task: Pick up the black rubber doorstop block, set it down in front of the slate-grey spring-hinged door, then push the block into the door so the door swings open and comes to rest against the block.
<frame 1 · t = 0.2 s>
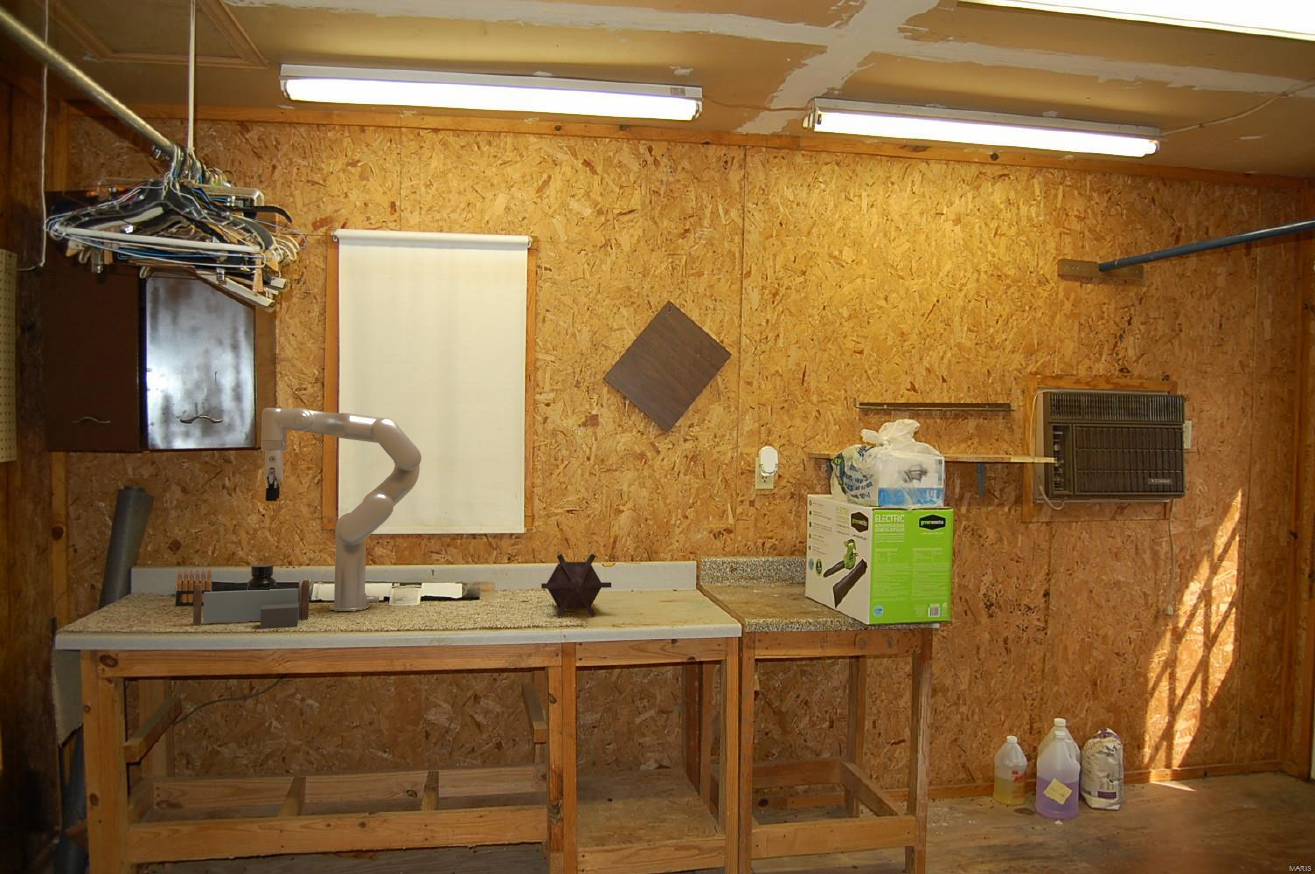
hand: (272, 499, 269), 36 cm above the table, tool pointing down, fingers open, 9 cm apart
ink bottle: (261, 600, 288), on the table
door frame: (252, 621, 256), on the table
ammunition clip: (193, 606, 277), on the table
doorstop block: (279, 626, 251), on the table
door: (251, 605, 255), point 5 cm above the table, hinge at 0.0°
black spiked polyhedron: (574, 613, 280), on the table
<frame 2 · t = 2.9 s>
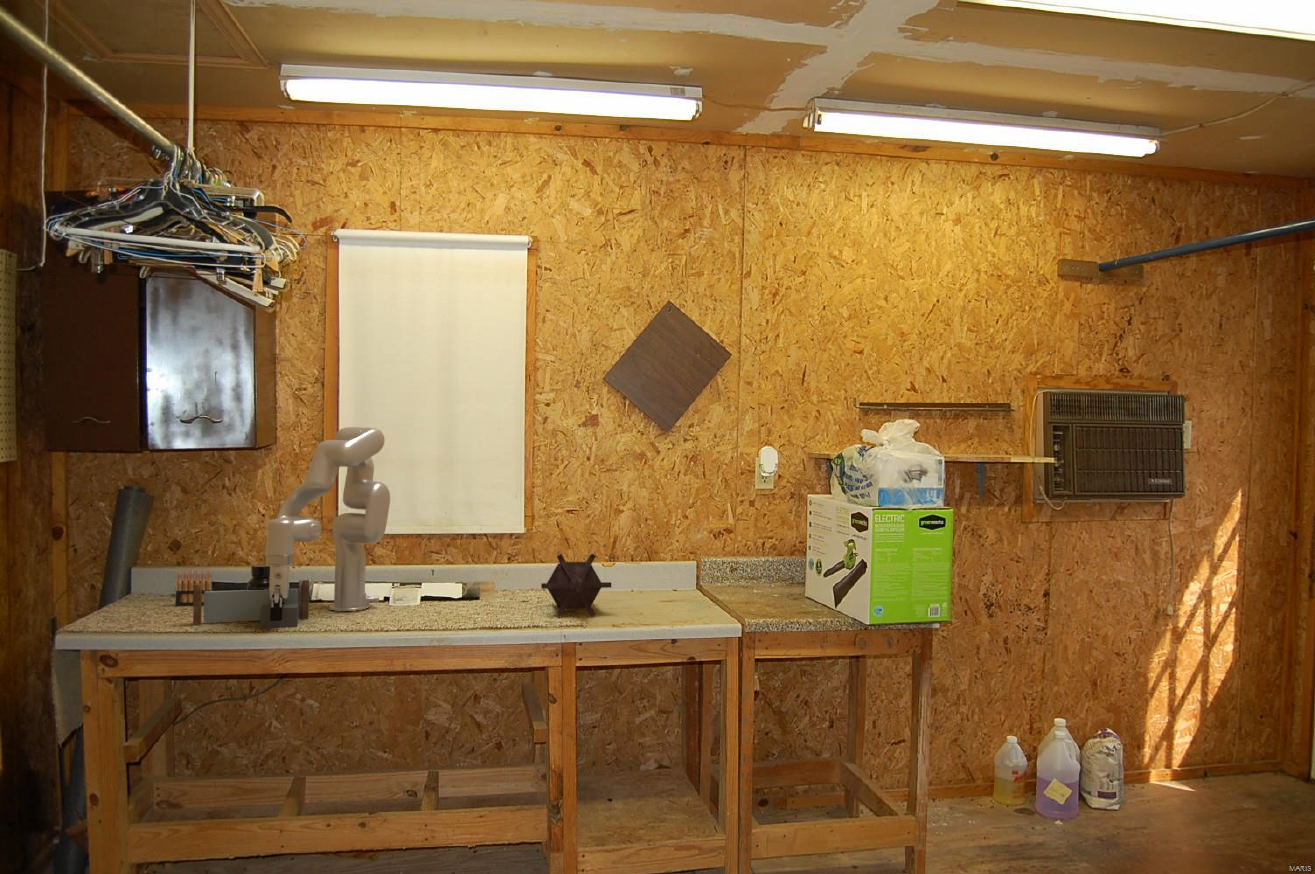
hand: (277, 617, 250), 3 cm above the table, tool pointing down, fingers open, 9 cm apart
door: (252, 604, 256), point 5 cm above the table, hinge at 2.6°
everything else where it was.
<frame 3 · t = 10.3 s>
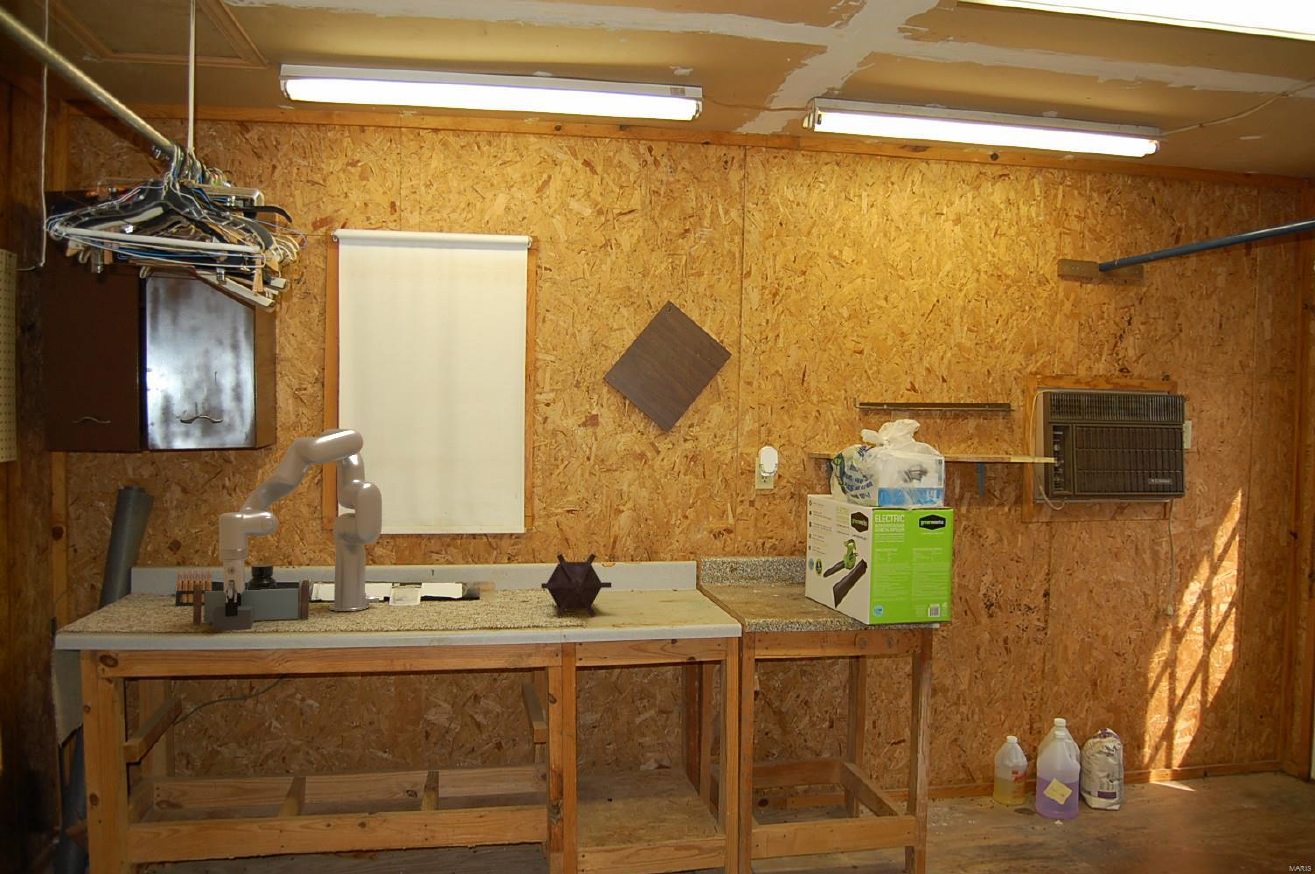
hand: (233, 612, 247), 5 cm above the table, tool pointing down, fingers open, 9 cm apart
doorstop block: (232, 628, 247), on the table
door: (252, 604, 256), point 5 cm above the table, hinge at 3.2°
everything else where it was.
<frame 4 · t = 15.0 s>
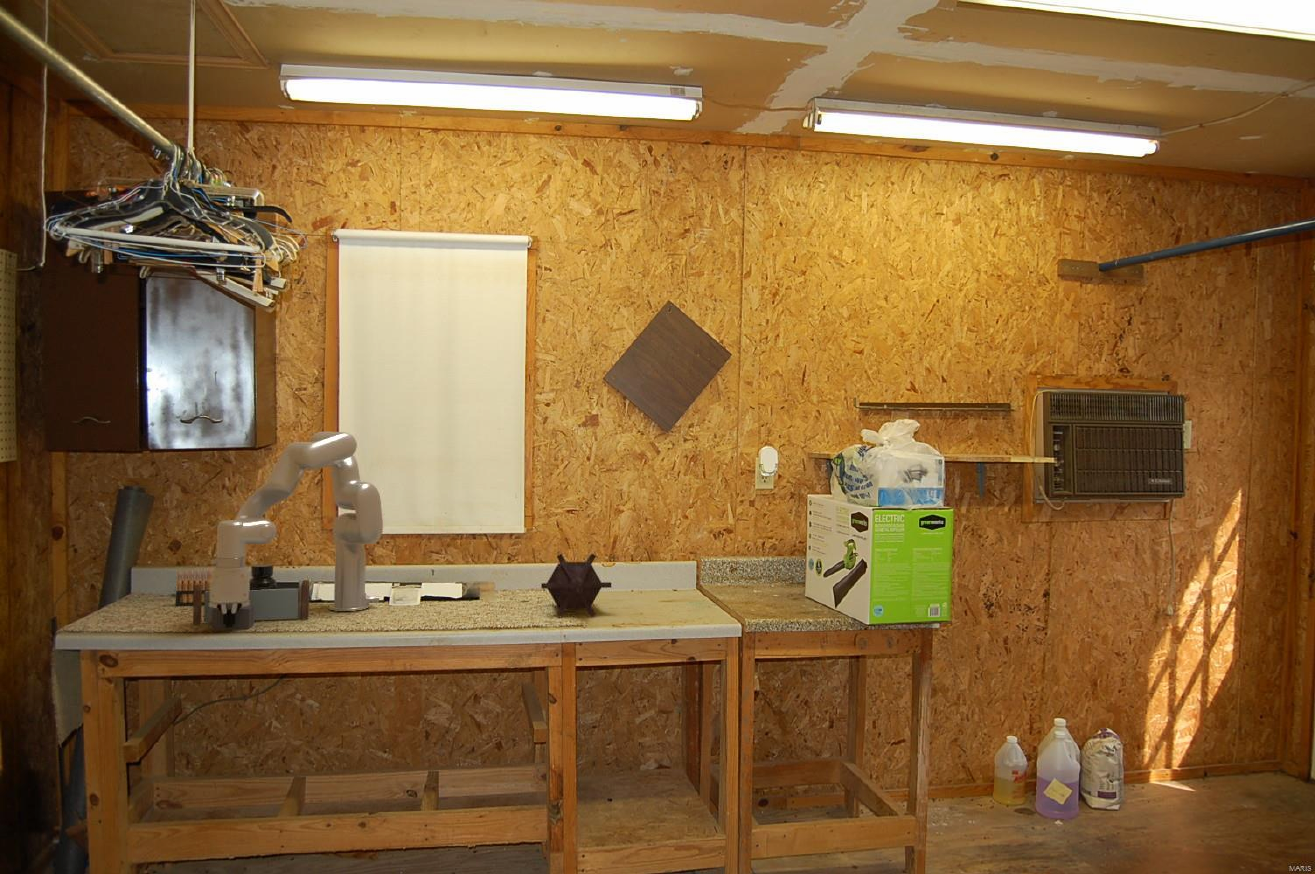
hand: (229, 626, 243), 1 cm above the table, tool pointing down, fingers closed
nothing on the table moved.
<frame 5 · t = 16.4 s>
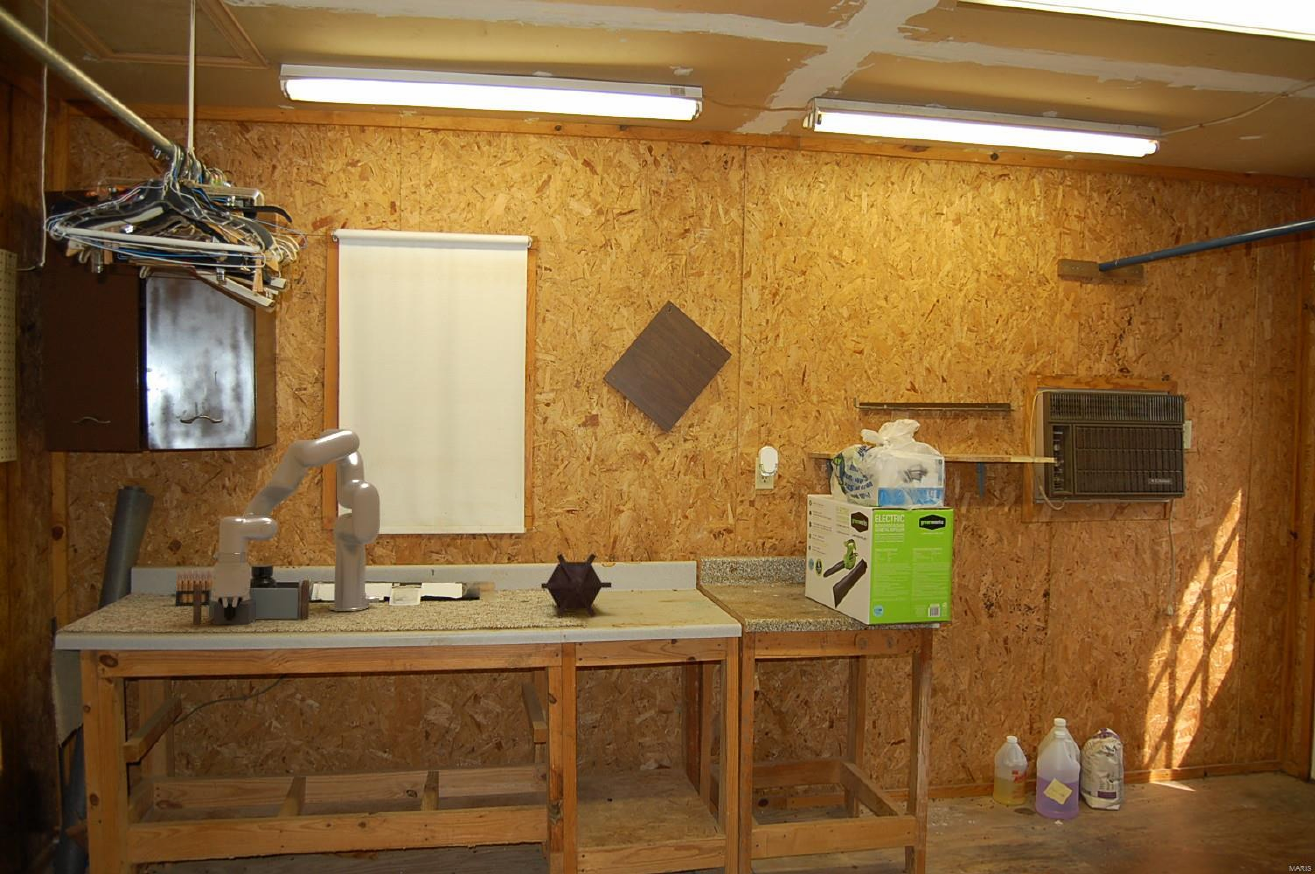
hand: (229, 619, 250), 2 cm above the table, tool pointing down, fingers closed
doorstop block: (234, 621, 254), on the table, touching door, gripper
door: (254, 603, 259), point 5 cm above the table, hinge at 14.2°, touching doorstop block
everything else where it was.
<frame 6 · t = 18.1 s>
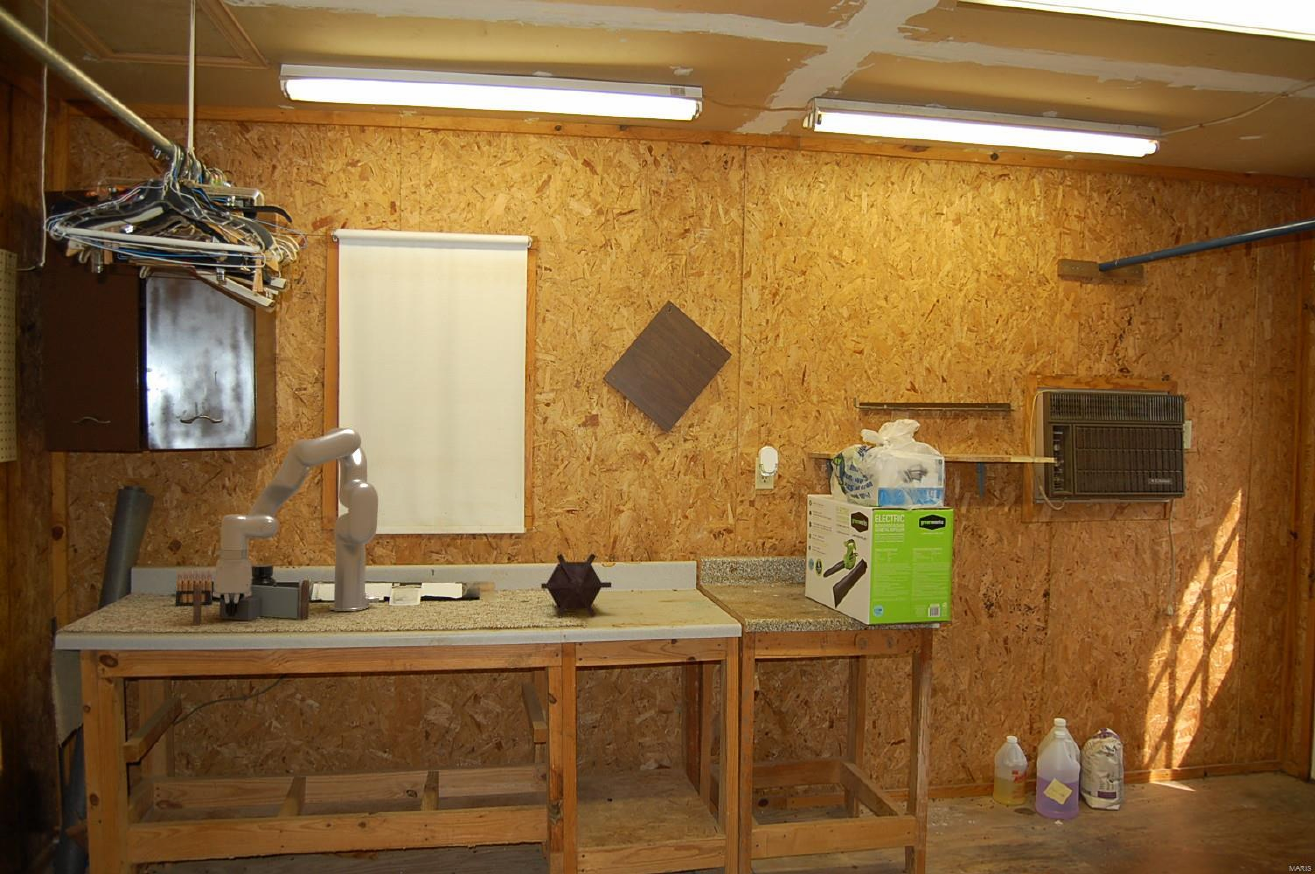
hand: (231, 615, 255), 2 cm above the table, tool pointing down, fingers closed
doorstop block: (240, 617, 260), on the table, touching door, gripper
door: (261, 600, 263), point 5 cm above the table, hinge at 32.0°, touching doorstop block
everything else where it was.
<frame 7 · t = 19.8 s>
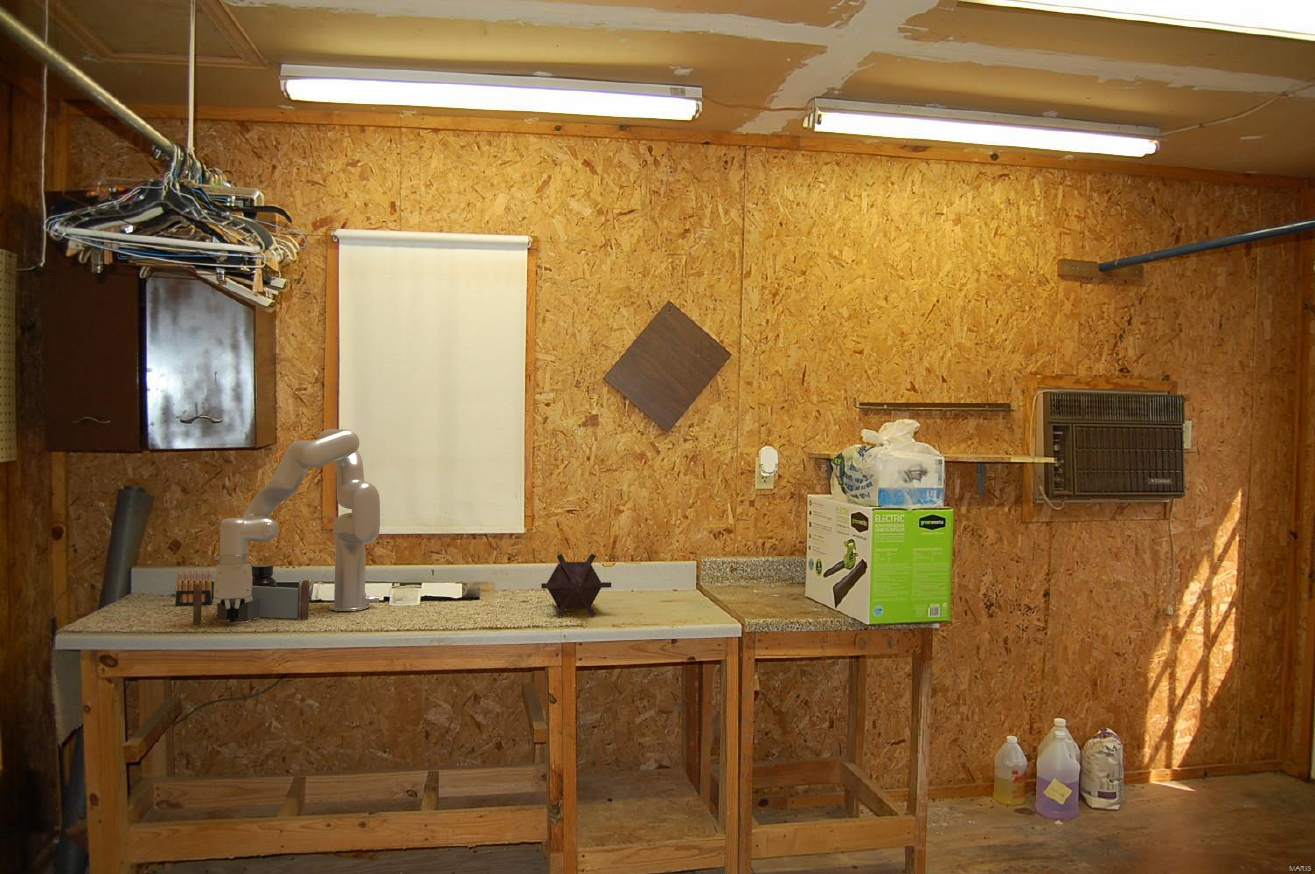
hand: (232, 621, 250), 1 cm above the table, tool pointing down, fingers closed
doorstop block: (238, 619, 259), on the table, touching door
door: (259, 601, 262), point 5 cm above the table, hinge at 27.8°, touching doorstop block
everything else where it was.
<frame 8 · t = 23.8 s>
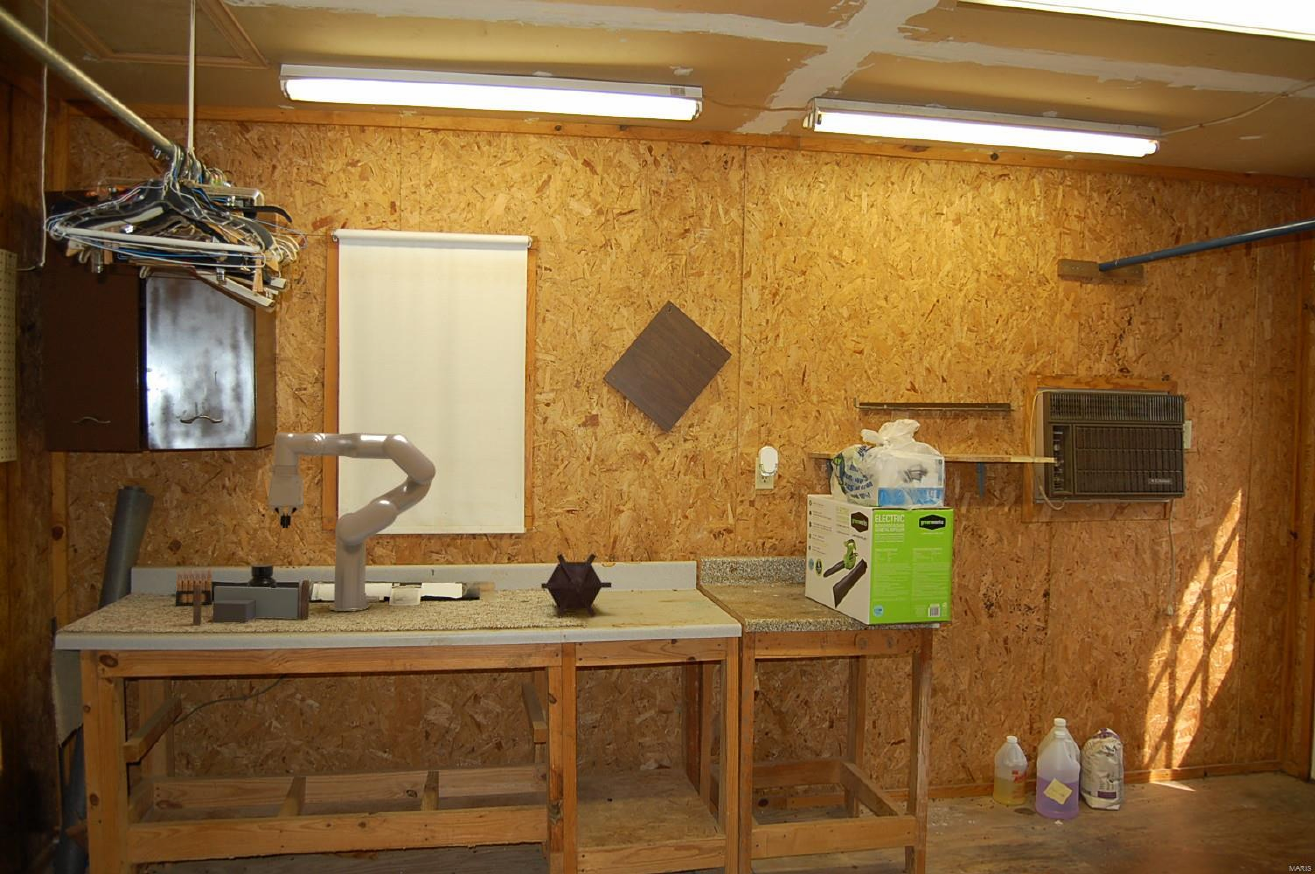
hand: (285, 527, 271), 27 cm above the table, tool pointing down, fingers closed
doorstop block: (234, 620, 257), on the table, touching door
door: (256, 602, 261), point 5 cm above the table, hinge at 21.7°, touching doorstop block
everything else where it was.
at the end: door at +22° (first picture: +0°); doorstop block touching door, table; doorstop block tilted 0° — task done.
